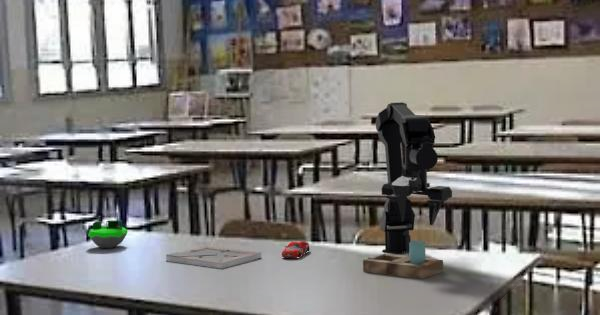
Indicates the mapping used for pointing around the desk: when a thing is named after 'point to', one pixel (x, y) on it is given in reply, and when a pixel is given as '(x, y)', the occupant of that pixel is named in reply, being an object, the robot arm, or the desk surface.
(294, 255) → the race car
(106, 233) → the green grey rounded piece
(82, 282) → the desk surface
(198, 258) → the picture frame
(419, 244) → the teal rounded cylinder
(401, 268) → the socket block
